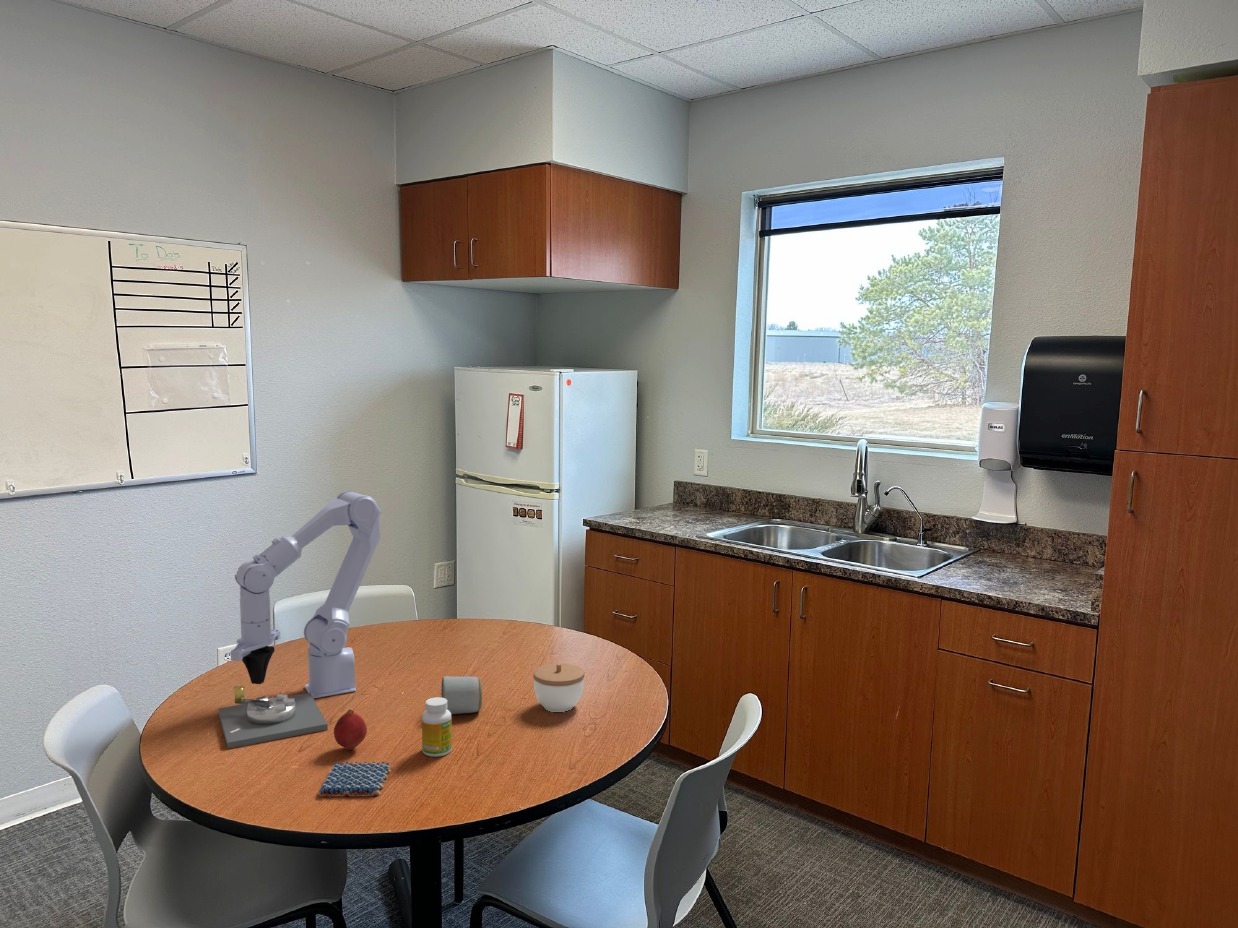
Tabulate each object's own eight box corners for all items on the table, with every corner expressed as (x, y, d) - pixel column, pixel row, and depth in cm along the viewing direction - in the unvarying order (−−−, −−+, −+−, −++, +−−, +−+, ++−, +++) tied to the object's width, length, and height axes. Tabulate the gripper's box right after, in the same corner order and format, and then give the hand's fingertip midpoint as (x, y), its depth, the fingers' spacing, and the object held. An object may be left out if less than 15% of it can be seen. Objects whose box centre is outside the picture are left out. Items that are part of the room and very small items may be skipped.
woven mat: (393, 770, 156) (393, 759, 156) (379, 800, 145) (379, 788, 145) (334, 770, 155) (334, 759, 155) (316, 800, 145) (315, 789, 145)
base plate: (310, 697, 187) (310, 692, 186) (327, 729, 171) (327, 723, 171) (218, 713, 178) (218, 707, 178) (227, 748, 162) (227, 742, 162)
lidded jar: (594, 706, 184) (595, 664, 183) (557, 721, 176) (557, 677, 175) (559, 693, 191) (560, 652, 190) (522, 707, 183) (522, 664, 182)
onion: (337, 759, 159) (336, 717, 158) (332, 746, 164) (330, 705, 163) (369, 752, 161) (368, 711, 160) (363, 740, 166) (362, 700, 165)
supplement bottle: (444, 758, 159) (444, 708, 158) (417, 755, 160) (416, 705, 159) (456, 746, 165) (455, 696, 163) (429, 743, 166) (428, 694, 164)
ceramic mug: (483, 716, 178) (483, 680, 177) (442, 720, 176) (442, 684, 175) (477, 698, 188) (477, 663, 187) (439, 701, 186) (438, 666, 185)
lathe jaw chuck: (304, 708, 178) (303, 684, 177) (279, 726, 169) (278, 700, 168) (249, 703, 180) (248, 679, 179) (222, 720, 171) (221, 695, 171)
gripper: (258, 608, 187) (260, 669, 189) (216, 628, 173) (218, 693, 175) (288, 610, 186) (290, 671, 188) (248, 630, 172) (250, 696, 174)
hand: (257, 682), depth 181 cm, fingers closed
